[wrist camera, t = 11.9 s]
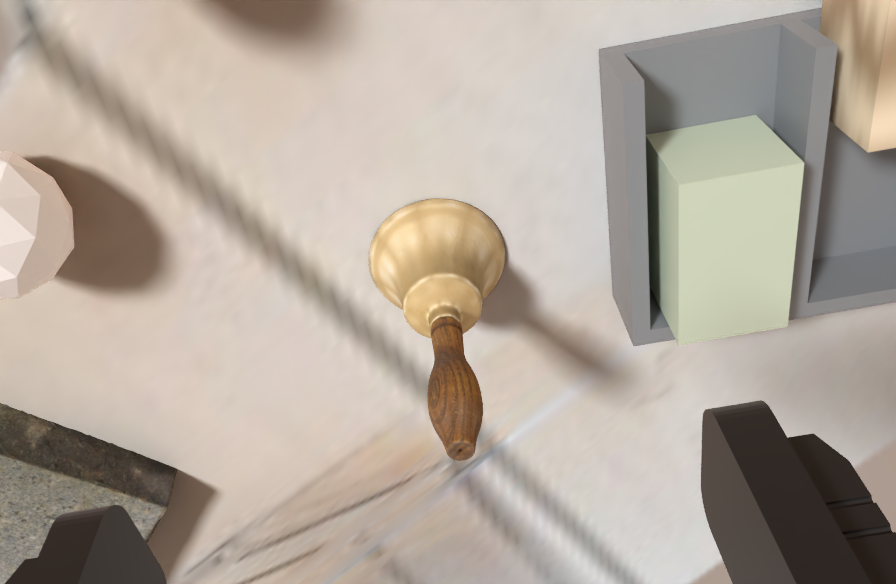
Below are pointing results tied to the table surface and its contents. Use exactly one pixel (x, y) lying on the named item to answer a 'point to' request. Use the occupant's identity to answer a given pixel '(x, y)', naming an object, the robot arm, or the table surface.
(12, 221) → the geometric ball
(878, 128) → the wooden handled block
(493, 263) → the hand bell
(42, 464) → the stone block
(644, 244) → the lane shelf
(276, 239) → the table surface
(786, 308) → the sage block
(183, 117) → the table surface
